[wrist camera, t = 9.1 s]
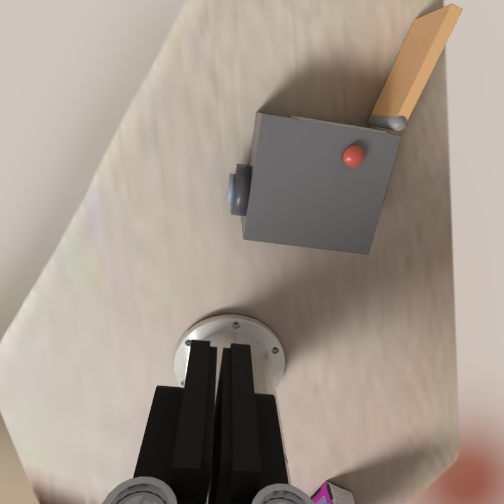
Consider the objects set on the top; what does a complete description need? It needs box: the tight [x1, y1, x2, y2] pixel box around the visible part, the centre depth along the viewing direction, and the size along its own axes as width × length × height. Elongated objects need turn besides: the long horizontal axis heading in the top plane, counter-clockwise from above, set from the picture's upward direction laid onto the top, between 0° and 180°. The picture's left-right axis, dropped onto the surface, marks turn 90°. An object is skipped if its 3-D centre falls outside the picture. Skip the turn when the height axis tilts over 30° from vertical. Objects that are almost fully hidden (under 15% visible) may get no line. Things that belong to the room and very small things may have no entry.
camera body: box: [227, 112, 402, 254], centre depth 33 cm, size 10×13×7 cm
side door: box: [368, 4, 463, 131], centre depth 30 cm, size 2×9×6 cm, turn 159°
